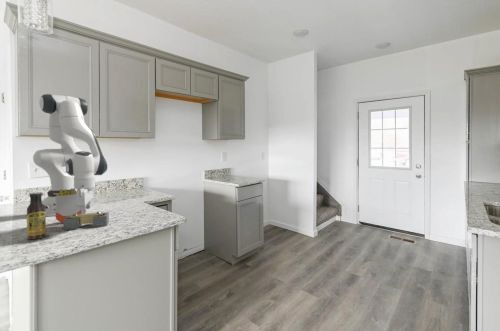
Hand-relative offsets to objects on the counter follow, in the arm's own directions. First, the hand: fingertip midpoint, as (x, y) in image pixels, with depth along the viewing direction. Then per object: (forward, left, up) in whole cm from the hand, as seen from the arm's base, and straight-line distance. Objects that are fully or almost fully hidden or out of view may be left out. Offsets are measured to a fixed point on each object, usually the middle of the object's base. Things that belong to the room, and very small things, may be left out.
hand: (86, 210), depth 124 cm
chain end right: (+6, -1, -8) cm, 10 cm away
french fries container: (-10, +12, -8) cm, 17 cm away
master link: (0, -1, -6) cm, 6 cm away
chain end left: (-6, -1, -8) cm, 9 cm away
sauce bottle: (-17, -11, -8) cm, 21 cm away
